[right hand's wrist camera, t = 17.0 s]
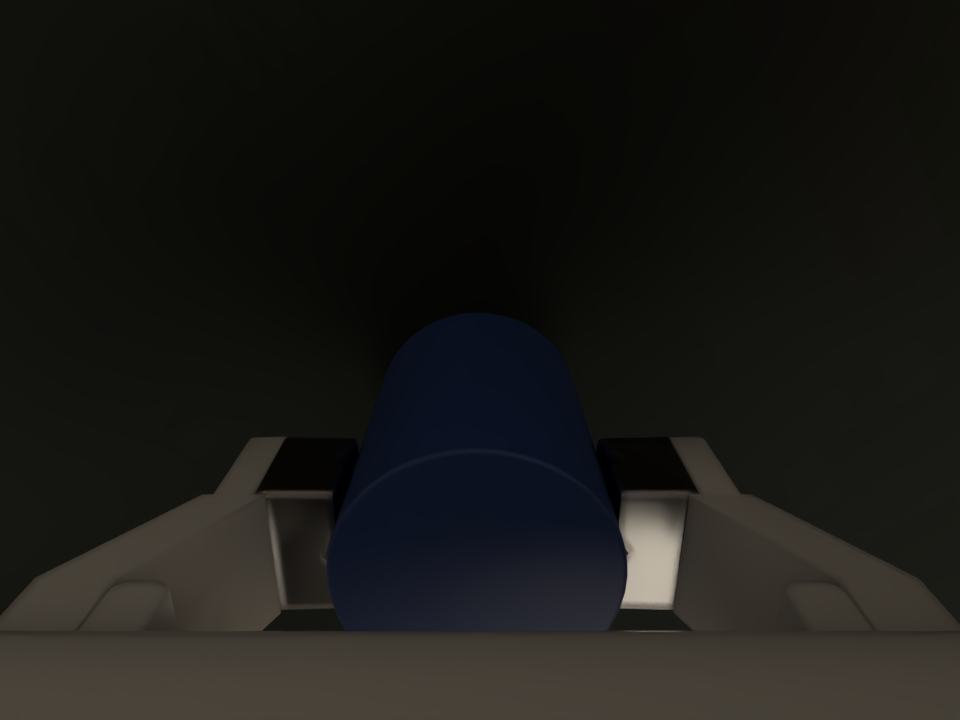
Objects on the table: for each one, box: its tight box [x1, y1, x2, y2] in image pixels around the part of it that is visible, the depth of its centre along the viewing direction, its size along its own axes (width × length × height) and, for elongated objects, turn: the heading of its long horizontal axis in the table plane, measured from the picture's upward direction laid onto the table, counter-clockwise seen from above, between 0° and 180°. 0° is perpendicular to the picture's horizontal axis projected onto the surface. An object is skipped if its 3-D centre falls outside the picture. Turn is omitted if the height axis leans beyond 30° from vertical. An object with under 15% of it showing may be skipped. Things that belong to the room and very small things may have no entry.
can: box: [326, 313, 628, 631], centre depth 10 cm, size 4×4×5 cm
